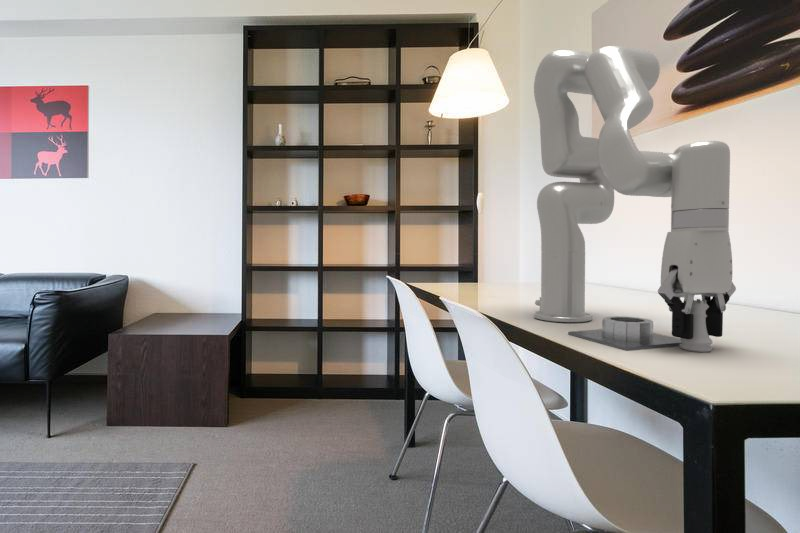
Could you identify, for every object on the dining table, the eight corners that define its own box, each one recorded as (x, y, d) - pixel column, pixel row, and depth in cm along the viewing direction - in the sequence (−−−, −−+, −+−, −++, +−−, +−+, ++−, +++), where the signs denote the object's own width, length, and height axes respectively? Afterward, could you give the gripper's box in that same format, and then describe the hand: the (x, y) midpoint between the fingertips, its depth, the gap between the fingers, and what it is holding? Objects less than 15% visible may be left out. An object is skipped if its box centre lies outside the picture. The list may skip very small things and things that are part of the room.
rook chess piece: (718, 353, 66) (719, 301, 66) (686, 352, 67) (687, 301, 67) (704, 347, 71) (705, 298, 70) (674, 346, 72) (675, 298, 71)
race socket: (568, 334, 82) (568, 316, 82) (627, 329, 86) (627, 312, 86) (626, 350, 69) (626, 328, 68) (693, 344, 73) (693, 323, 73)
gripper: (715, 224, 74) (713, 329, 75) (636, 223, 69) (634, 335, 70) (763, 221, 67) (760, 337, 68) (678, 220, 62) (676, 345, 63)
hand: (696, 335), depth 69 cm, fingers open, 5 cm apart
